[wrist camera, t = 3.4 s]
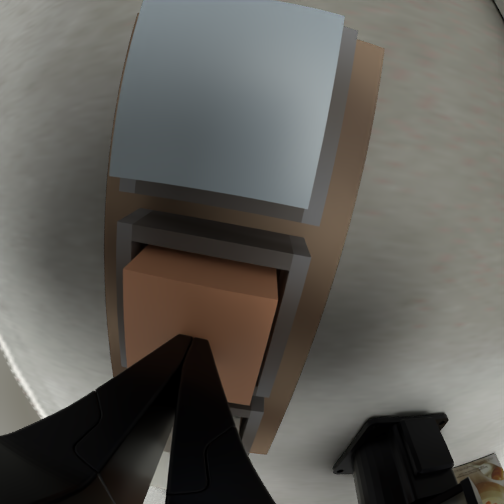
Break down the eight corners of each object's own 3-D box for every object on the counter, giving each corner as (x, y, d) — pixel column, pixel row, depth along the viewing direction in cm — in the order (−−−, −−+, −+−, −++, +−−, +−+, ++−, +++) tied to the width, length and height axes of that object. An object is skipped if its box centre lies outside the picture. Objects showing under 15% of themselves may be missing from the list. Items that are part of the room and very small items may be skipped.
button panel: (266, 435, 16) (266, 479, 13) (129, 406, 16) (111, 447, 13) (370, 58, 9) (406, 33, 6) (151, 25, 9) (116, -6, 6)
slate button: (294, 186, 8) (308, 209, 6) (157, 163, 8) (108, 176, 6) (319, 54, 7) (344, 16, 4) (181, 35, 7) (145, -5, 4)
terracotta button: (253, 349, 12) (249, 405, 9) (154, 329, 12) (128, 378, 9) (275, 255, 10) (278, 300, 7) (159, 234, 10) (123, 268, 7)
